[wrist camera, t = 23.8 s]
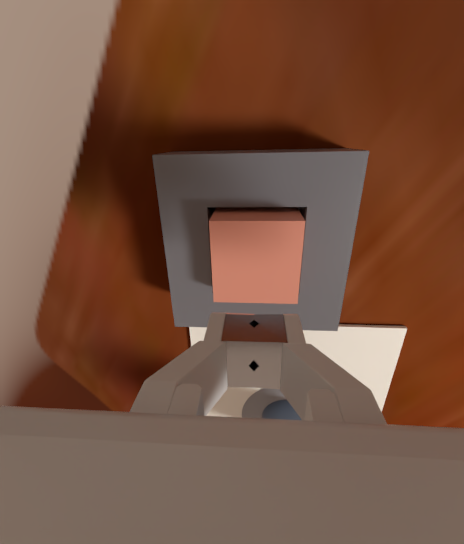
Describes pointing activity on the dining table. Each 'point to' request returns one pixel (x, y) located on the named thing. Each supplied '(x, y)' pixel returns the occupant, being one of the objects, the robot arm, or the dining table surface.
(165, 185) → the button housing
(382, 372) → the paper sheet
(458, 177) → the dining table surface
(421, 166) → the dining table surface
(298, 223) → the button
